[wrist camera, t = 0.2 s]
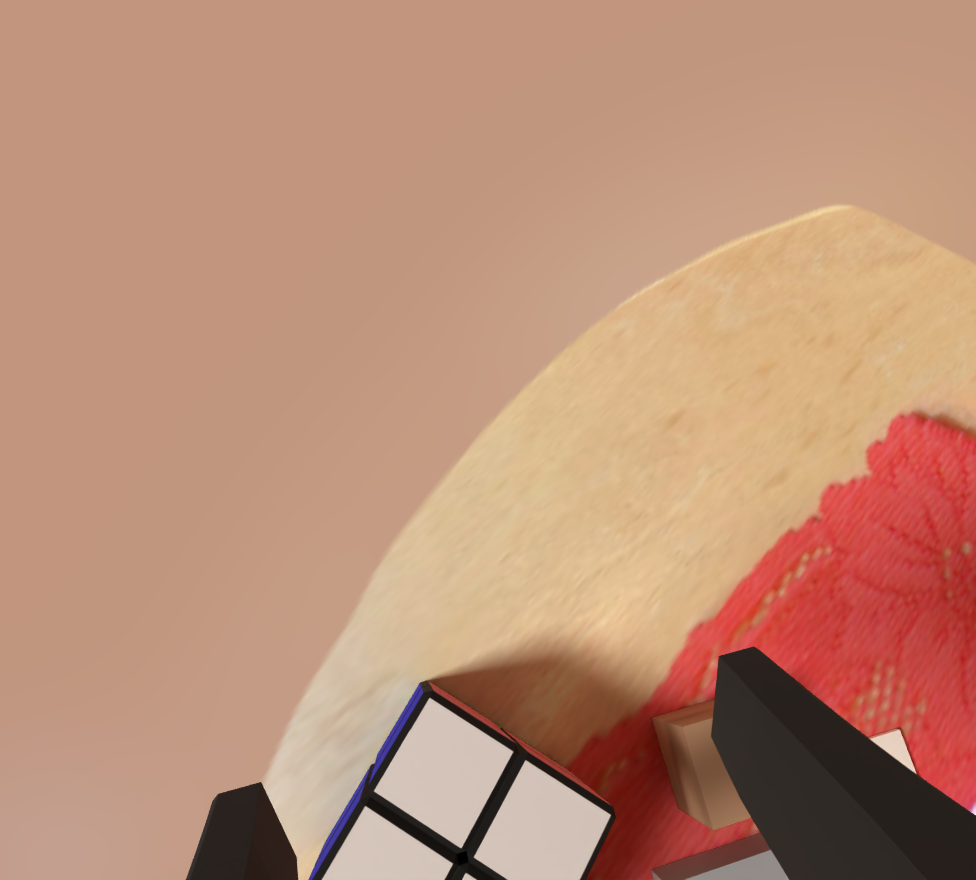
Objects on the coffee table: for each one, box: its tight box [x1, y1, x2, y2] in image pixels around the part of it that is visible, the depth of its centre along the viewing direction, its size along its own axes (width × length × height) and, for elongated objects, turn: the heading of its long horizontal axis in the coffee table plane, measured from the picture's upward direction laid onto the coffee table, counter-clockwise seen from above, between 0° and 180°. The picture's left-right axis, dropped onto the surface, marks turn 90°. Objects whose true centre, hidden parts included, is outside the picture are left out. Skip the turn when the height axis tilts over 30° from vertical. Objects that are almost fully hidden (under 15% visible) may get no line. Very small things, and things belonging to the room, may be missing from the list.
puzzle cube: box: [309, 681, 616, 880], centre depth 34 cm, size 10×10×10 cm
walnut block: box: [652, 699, 751, 830], centre depth 39 cm, size 5×5×5 cm
